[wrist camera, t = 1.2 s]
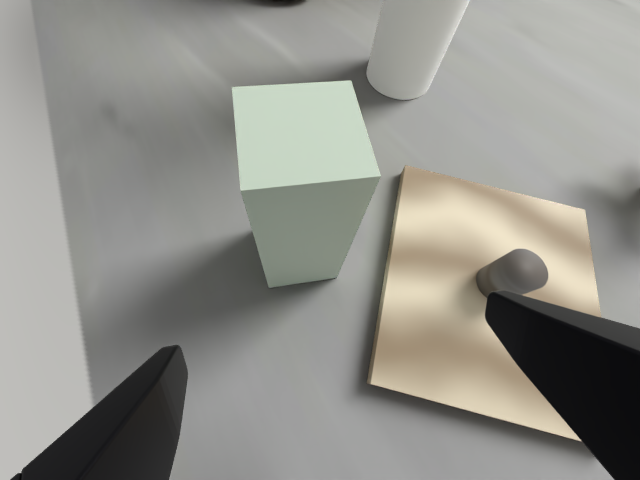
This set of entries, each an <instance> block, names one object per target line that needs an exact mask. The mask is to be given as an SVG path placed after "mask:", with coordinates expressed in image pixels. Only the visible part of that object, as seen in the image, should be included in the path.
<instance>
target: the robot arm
mask: <svg viewBox="0 0 640 480" xmlns="http://www.w3.org/2000/svg"><path fill="white" fill-rule="evenodd" d="M485 319H486V322H487V323H488V325H489V326H490V328H491V329H492V331H493V332H494V333H495V335H496V336H497V338H498V339H499V340H500V342H501V343H502V345H503V346H504V347H505V349H506V350H507V352H508V353H509V354H510V356H511V357H512V359H513V360H514V361H515V363H516V364H517V365H518V367H519V368H520V369H521V370H522V372H523V373H524V374H525V375H526V376H527V378H528V379H529V380H530V381H531V382H532V383H533V385H534V386H535V387H536V388H537V389H538V390H539V392H540V393H541V394H542V395H543V396H544V397H545V399H546V400H547V401H548V402H549V403H550V405H551V406H552V407H553V408H554V409H555V410H556V412H557V413H558V414H559V415H560V416H561V417H562V419H563V420H564V421H565V422H566V423H567V424H568V426H569V427H570V428H571V429H572V430H573V432H574V433H575V434H576V435H577V436H578V437H579V439H580V440H581V441H582V442H583V443H584V444H585V446H586V447H587V448H588V449H589V450H590V452H591V453H592V454H593V455H594V456H595V457H596V459H597V460H598V461H599V462H600V463H601V464H602V466H603V467H604V468H605V469H606V470H607V471H608V473H609V474H610V475H611V476H612V477H613V479H614V480H640V329H639V328H636V327H632V326H629V325H625V324H622V323H618V322H615V321H611V320H608V319H604V318H601V317H597V316H594V315H590V314H587V313H583V312H580V311H576V310H573V309H569V308H565V307H562V306H558V305H555V304H551V303H548V302H544V301H541V300H537V299H534V298H530V297H527V296H523V295H520V294H516V293H513V292H509V291H506V290H498V291H492V292H490V293H489V294H488V297H487V303H486V309H485ZM187 379H188V371H187V366H186V363H185V360H184V356H183V353H182V350H181V348H180V346H178V345H173V346H167V347H163V348H161V349H160V350H159V351H157V352H156V353H155V354H154V355H153V356H152V357H151V358H149V359H148V360H147V361H146V362H145V363H144V364H143V365H141V366H140V367H139V368H138V369H137V370H136V371H135V372H133V373H132V374H131V375H130V376H129V377H128V378H127V379H125V380H124V381H123V382H122V383H121V384H120V385H119V386H117V387H116V388H115V389H114V390H113V391H112V392H110V393H109V394H108V395H107V396H106V397H105V398H104V399H102V400H101V401H100V402H99V403H98V404H97V405H96V406H94V407H93V408H92V409H91V410H90V411H89V412H88V413H86V414H85V415H84V416H83V417H82V418H81V419H80V420H78V421H77V422H76V423H75V424H74V425H73V426H72V427H70V428H69V429H68V430H67V431H66V432H65V433H63V434H62V435H61V436H60V437H59V438H58V439H57V440H56V441H54V442H53V443H52V444H51V445H50V446H49V447H47V448H46V449H45V450H44V451H43V452H42V453H41V454H39V455H38V456H37V457H36V458H35V459H34V460H32V461H31V462H30V463H29V464H28V465H27V466H26V467H24V468H23V470H22V473H18V474H16V475H15V476H14V477H13V478H12V479H11V480H169V477H170V473H171V469H172V465H173V461H174V457H175V453H176V449H177V445H178V440H179V436H180V429H181V423H182V415H183V408H184V401H185V394H186V386H187Z"/></svg>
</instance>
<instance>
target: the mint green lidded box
mask: <svg viewBox="0 0 640 480" xmlns="http://www.w3.org/2000/svg"><path fill="white" fill-rule="evenodd" d="M232 95H233V107H234V119H235V131H236V142H237V154H238V166H239V178H240V189H241V194H242V197H243V201H244V204H245V208H246V211H247V214H248V218H249V221H250V225H251V228H252V232H253V235H254V238H255V242H256V245H257V249H258V252H259V256H260V259H261V263H262V266H263V269H264V273H265V276H266V280H267V283H268V287H269V288H272V287H279V286H286V285H292V284H299V283H306V282H312V281H319V280H326V279H332V278H337V276H338V274H339V272H340V269H341V267H342V265H343V262H344V260H345V258H346V256H347V253H348V251H349V249H350V246H351V244H352V242H353V239H354V237H355V235H356V232H357V230H358V228H359V225H360V223H361V221H362V219H363V216H364V214H365V212H366V209H367V207H368V205H369V202H370V200H371V198H372V195H373V193H374V191H375V188H376V186H377V184H378V182H379V179H380V177H381V175H380V172H379V169H378V166H377V162H376V159H375V156H374V153H373V149H372V146H371V143H370V140H369V136H368V133H367V130H366V127H365V123H364V120H363V117H362V114H361V110H360V107H359V104H358V101H357V98H356V94H355V91H354V88H353V85H352V81H351V80H350V81H332V82H314V83H296V84H278V85H260V86H242V87H232Z"/></svg>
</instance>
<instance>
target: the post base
mask: <svg viewBox="0 0 640 480" xmlns="http://www.w3.org/2000/svg"><path fill="white" fill-rule="evenodd" d="M498 290H506V291H509V292H513V293H516V294H520V295H523V296H527V297H530V298H534V299H537V300H541V301H544V302H548V303H551V304H555V305H558V306H562V307H565V308H569V309H573V310H576V311H580V312H583V313H587V314H590V315H594V316H597V317H601V313H600V306H599V300H598V293H597V286H596V280H595V273H594V266H593V260H592V253H591V246H590V239H589V233H588V226H587V219H586V213H585V210H584V209H580V208H576V207H572V206H568V205H564V204H559V203H555V202H551V201H547V200H543V199H539V198H535V197H531V196H527V195H523V194H519V193H515V192H511V191H507V190H503V189H499V188H495V187H491V186H487V185H483V184H479V183H475V182H471V181H467V180H463V179H459V178H455V177H451V176H447V175H443V174H439V173H435V172H431V171H427V170H423V169H419V168H414V167H410V166H406V165H405V167H404V169H403V171H402V173H401V177H400V183H399V189H398V195H397V201H396V207H395V213H394V219H393V225H392V232H391V238H390V244H389V250H388V256H387V262H386V268H385V274H384V281H383V287H382V293H381V299H380V305H379V311H378V317H377V323H376V330H375V336H374V342H373V348H372V354H371V360H370V366H369V372H368V379H367V384H371V385H374V386H378V387H382V388H385V389H389V390H393V391H396V392H400V393H404V394H407V395H411V396H415V397H418V398H422V399H426V400H429V401H433V402H437V403H441V404H444V405H448V406H452V407H455V408H459V409H463V410H466V411H470V412H474V413H477V414H481V415H485V416H488V417H492V418H496V419H499V420H503V421H507V422H510V423H514V424H518V425H521V426H525V427H529V428H532V429H536V430H540V431H543V432H547V433H551V434H554V435H558V436H562V437H565V438H569V439H573V440H576V441H580V442H582V441H581V440H580V439H579V437H578V436H577V435H576V434H575V433H574V432H573V430H572V429H571V428H570V427H569V426H568V424H567V423H566V422H565V421H564V420H563V419H562V417H561V416H560V415H559V414H558V413H557V412H556V410H555V409H554V408H553V407H552V406H551V405H550V403H549V402H548V401H547V400H546V399H545V397H544V396H543V395H542V394H541V393H540V392H539V390H538V389H537V388H536V387H535V386H534V385H533V383H532V382H531V381H530V380H529V379H528V378H527V376H526V375H525V374H524V373H523V372H522V370H521V369H520V368H519V367H518V365H517V364H516V363H515V361H514V360H513V359H512V357H511V356H510V354H509V353H508V352H507V350H506V349H505V347H504V346H503V345H502V343H501V342H500V340H499V339H498V338H497V336H496V335H495V333H494V332H493V331H492V329H491V328H490V326H489V325H488V323H487V322H486V319H485V309H486V303H487V297H488V294H489V293H490V292H492V291H498Z"/></svg>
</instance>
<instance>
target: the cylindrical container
mask: <svg viewBox="0 0 640 480" xmlns="http://www.w3.org/2000/svg"><path fill="white" fill-rule="evenodd" d="M469 1H470V0H383V3H382V7H381V11H380V16H379V20H378V24H377V28H376V33H375V37H374V41H373V45H372V50H371V54H370V58H369V62H368V67H367V78H368V81H369V82H370V84H371V85H372V86H373V88H374V89H376V90H377V91H378V92H380V93H381V94H383V95H385V96H388V97H390V98H394V99H399V100H411V99H415V98H418V97H420V96H422V95H423V94H425V93H426V92H427V91H428V89H429V87H430V84H431V82H432V80H433V78H434V76H435V74H436V72H437V70H438V67H439V65H440V63H441V61H442V59H443V57H444V55H445V52H446V50H447V48H448V46H449V44H450V42H451V40H452V37H453V35H454V33H455V31H456V29H457V27H458V25H459V23H460V20H461V18H462V16H463V14H464V12H465V10H466V8H467V5H468V3H469Z"/></svg>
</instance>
